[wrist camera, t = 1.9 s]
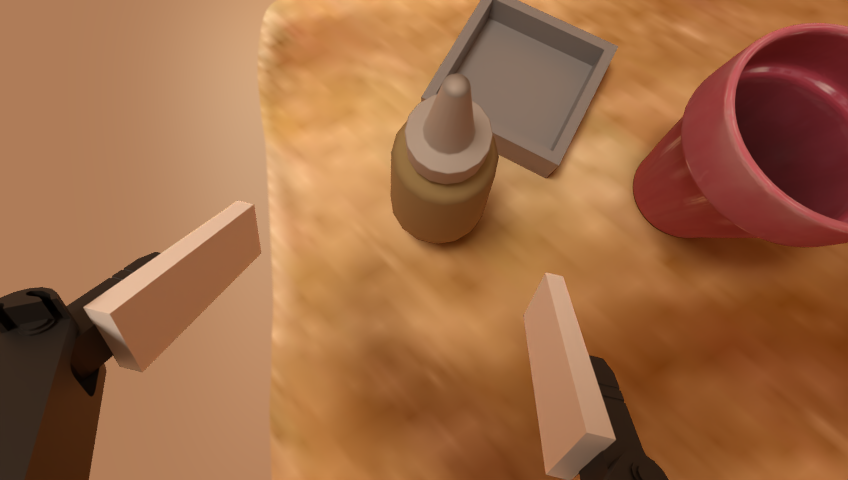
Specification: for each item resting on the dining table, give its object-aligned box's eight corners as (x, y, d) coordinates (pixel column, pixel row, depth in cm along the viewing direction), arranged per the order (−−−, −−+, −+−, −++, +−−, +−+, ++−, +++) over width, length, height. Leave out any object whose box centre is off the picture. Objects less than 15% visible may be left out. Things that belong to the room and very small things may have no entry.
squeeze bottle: (495, 211, 31) (595, 91, 13) (433, 268, 30) (452, 221, 12) (438, 153, 32) (459, -29, 14) (376, 206, 31) (317, 79, 13)
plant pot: (702, 107, 33) (875, -12, 21) (779, 229, 31) (1027, 181, 18) (580, 155, 32) (684, 61, 19) (650, 286, 30) (820, 276, 17)
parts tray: (600, 68, 34) (618, 46, 31) (545, 178, 31) (558, 165, 29) (482, 13, 35) (488, -13, 32) (421, 115, 33) (421, 97, 30)
